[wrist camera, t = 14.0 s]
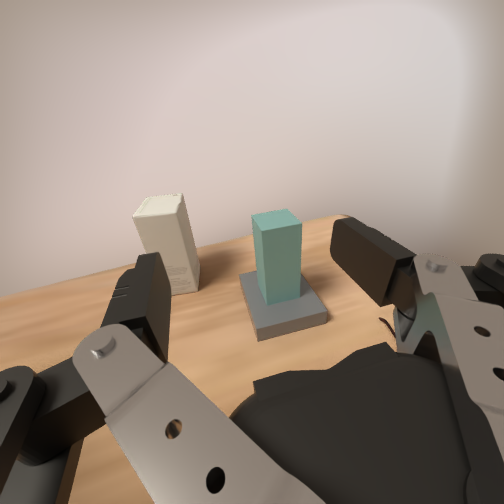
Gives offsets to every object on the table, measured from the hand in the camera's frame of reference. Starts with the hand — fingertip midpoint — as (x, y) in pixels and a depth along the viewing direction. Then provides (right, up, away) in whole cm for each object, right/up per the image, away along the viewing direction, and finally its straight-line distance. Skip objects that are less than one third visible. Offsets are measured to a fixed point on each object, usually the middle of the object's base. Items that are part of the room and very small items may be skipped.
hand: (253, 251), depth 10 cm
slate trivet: (+4, -8, +26) cm, 27 cm away
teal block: (+4, -6, +25) cm, 26 cm away
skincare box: (-13, -6, +33) cm, 36 cm away
